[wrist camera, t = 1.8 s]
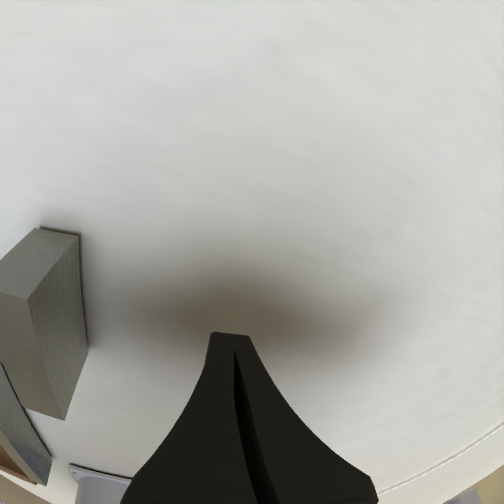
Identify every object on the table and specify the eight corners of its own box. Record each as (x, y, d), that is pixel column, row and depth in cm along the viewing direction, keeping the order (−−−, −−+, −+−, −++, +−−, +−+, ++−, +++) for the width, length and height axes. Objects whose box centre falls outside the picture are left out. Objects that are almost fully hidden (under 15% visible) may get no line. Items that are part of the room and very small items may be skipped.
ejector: (119, 478, 20) (115, 515, 16) (38, 455, 18) (29, 489, 15) (78, 236, 10) (27, 299, 7) (-57, 211, 9) (-111, 251, 5)
